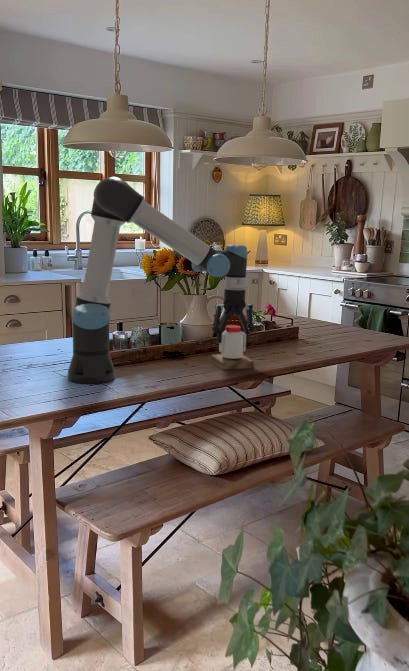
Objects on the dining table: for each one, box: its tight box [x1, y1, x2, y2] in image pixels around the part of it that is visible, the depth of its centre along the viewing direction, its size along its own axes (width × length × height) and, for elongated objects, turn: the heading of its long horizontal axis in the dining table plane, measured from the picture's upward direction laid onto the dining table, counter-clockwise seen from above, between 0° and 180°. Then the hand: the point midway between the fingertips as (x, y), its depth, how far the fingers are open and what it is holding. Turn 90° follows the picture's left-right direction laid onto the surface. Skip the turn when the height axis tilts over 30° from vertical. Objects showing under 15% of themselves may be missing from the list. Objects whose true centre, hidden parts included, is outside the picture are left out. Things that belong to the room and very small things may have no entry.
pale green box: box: [160, 324, 182, 345], centre depth 238 cm, size 8×8×10 cm
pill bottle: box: [220, 324, 244, 359], centre depth 221 cm, size 8×8×11 cm
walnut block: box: [210, 353, 255, 371], centre depth 222 cm, size 12×12×3 cm
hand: (232, 350), depth 221 cm, fingers open, 8 cm apart
